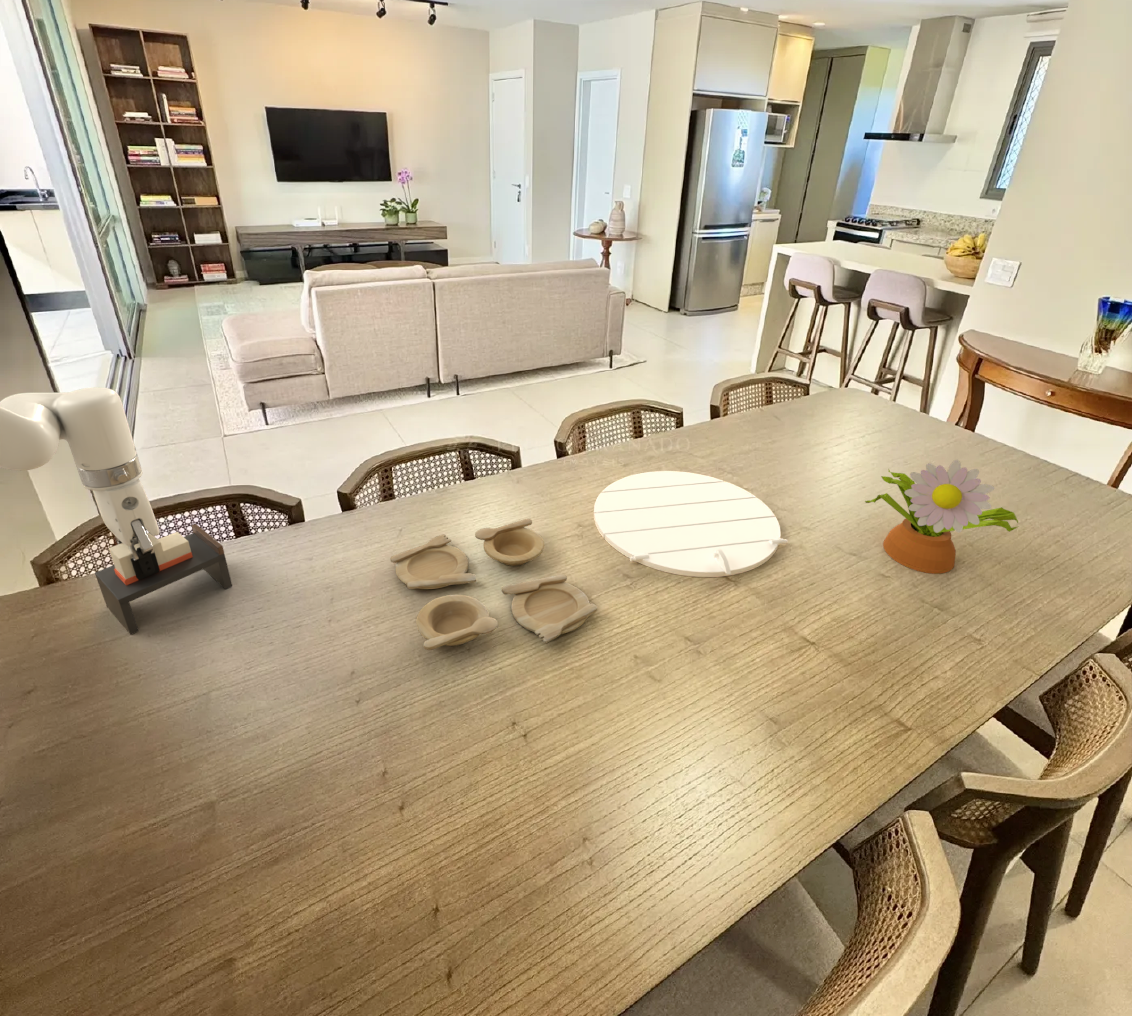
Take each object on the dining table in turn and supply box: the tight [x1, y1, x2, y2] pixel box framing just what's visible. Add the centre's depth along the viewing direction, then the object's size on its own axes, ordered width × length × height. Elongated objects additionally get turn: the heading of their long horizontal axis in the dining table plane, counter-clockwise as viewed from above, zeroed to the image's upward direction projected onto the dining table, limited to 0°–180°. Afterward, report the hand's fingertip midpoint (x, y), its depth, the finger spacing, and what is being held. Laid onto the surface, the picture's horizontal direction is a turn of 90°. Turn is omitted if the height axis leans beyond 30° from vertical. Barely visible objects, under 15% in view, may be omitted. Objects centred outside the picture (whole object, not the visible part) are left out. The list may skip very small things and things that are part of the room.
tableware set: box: [389, 518, 598, 651], centre depth 112 cm, size 35×29×4 cm
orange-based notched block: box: [108, 531, 193, 585], centre depth 103 cm, size 10×4×5 cm, turn 141°
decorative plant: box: [864, 459, 1020, 575], centre depth 123 cm, size 27×24×25 cm
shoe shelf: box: [94, 523, 233, 636], centre depth 106 cm, size 16×10×9 cm, turn 141°
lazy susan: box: [593, 470, 789, 578], centre depth 135 cm, size 40×39×3 cm
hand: (141, 567), depth 103 cm, fingers closed on orange-based notched block, 4 cm apart
